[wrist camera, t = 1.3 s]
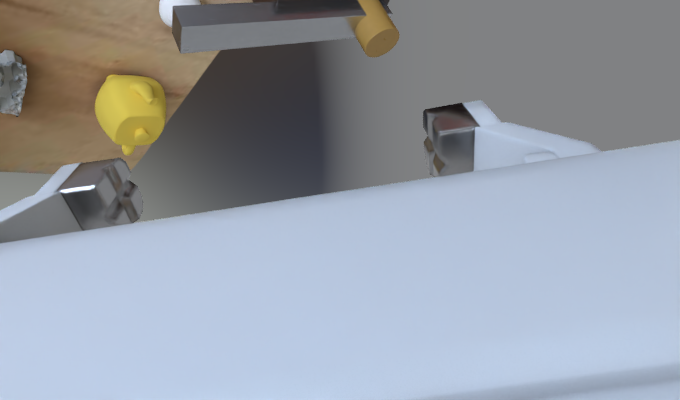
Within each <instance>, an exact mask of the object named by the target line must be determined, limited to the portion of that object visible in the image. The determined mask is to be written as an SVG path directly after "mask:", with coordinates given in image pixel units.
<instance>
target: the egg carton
mask: <svg viewBox="0 0 680 400" xmlns="http://www.w3.org/2000/svg"><path fill="white" fill-rule="evenodd" d="M26 84H27V72H26V64H25V65H23V64H22V58H21V57H19V56H17V55H15V53H14V52H13V51H9V50H4V52H2V53H0V112H2V113H6V114H15V115H16V117H18V116H19V113H20V111H21V107H22V99H23V96H24V93H25V88H26Z"/></svg>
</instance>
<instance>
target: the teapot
mask: <svg viewBox="0 0 680 400" xmlns="http://www.w3.org/2000/svg"><path fill="white" fill-rule="evenodd" d="M95 113H96V116H97V119H98V121H99V124H100V125H101V127H102V128H103V130H104V131H105V133H106V134H107V135H108V136H109V137H110V138H111V139H112V140H113V141H114V142H115V143H116V144H118V145H122V150H123V153H124V154H125V155H131V154H132V153H133V151H134V149H135V146H136V145H147V144H151V143H153V142H154V141H155V140H156V139H157V138H158V137H159V136H160V134H161V132H162V130H163V128H164V124H165V117H166V99H165V94H164V90H163V88H162V86H161V85H160V84H159V83H158V82H157V81H155V80H154V79H152V78H149V77H143V76H133V75H115V74H112V75H109V76H108V77H107V78H106V81H105V82H104V84H103V85H102V87H101V88H100V90H99V92H98V95H97V98H96V101H95Z"/></svg>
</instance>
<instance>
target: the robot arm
mask: <svg viewBox="0 0 680 400" xmlns="http://www.w3.org/2000/svg"><path fill="white" fill-rule="evenodd" d="M423 128H424V130H425V131H426V134H427V135H428V136H427V138H426V139H425V141H424V153H425V160H426V165H427V168H428V171H429V173H430V175H432V176H434V177H433V178H427V179H420V180H413V181H406V182H400V183H393V184H387V185H381V186H374V187H367V188H361V189H355V190H347V191H341V192H335V193H328V194H321V195H315V196H308V197H301V198H295V199H289V200H282V201H275V202H269V203H262V204H255V205H249V206H242V207H236V208H229V209H223V210H216V211H210V212H203V213H196V214H190V215H184V216H177V217H170V218H163V219H157V220H151V221H144V222H137V223H134V222H135V221H137V220H138V219H139V218H140V216H141V214H142V212H143V200H142V196H141V193H140V191H139V188H138V186H136V185H135V184H134V183H132V182H131V181H129V177H130V174H131V171H130V169H129V167H128V165H127V163H126V162H125V161H124V160H123V159H121V158H115V159H108V160H100V161H93V162H86V163H83V162H81V163H76V164H70V165H64V166H62V167H61V168H60V169H59V170H58V171H57V172H56V173H55V174H54V175H53V176H52V177H51V178H50V179H49V181H48V182H47V183H46V184H45V185H44V186H43V187H42V188H41V189H40V190H39V191H38V192H37V193H36V194H35V195H34V196H29V197H26V198H24V199H22V200H20V201H19V202H16V203H15V204H12V205H10V206H9V207H6V208H4V209H2V210H0V400H680V140H676V141H670V142H663V143H657V144H650V145H644V146H637V147H631V148H624V149H618V150H611V151H604V152H601V151H600V150H599V149H598V148H597V147H596V146H594V145H593V144H592V143H588V142H584V141H580V140H576V139H572V138H568V137H565V136H561V135H556V134H553V133H549V132H545V131H541V130H537V129H533V128H529V127H525V126H521V125H517V124H513V123H509V122H506V123H502V122H501V121H500V120H499V119H498V118H497V117H496V116H495V115H494V113H493V112H492V111H491V110H490V109H489V108H488V107H487V106H486V105H485V103H484V102H483V101H482V100H478V101H473V102H467V103H463V104H462V103H458V104H453V105H447V106H442V107H436V108H431V109H425V110H424V111H423Z"/></svg>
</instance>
